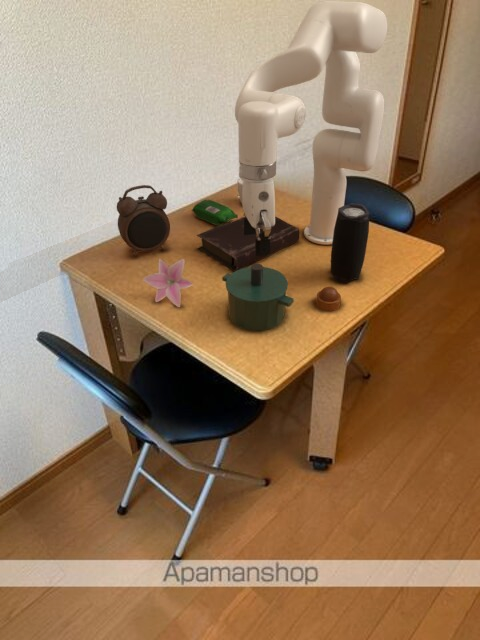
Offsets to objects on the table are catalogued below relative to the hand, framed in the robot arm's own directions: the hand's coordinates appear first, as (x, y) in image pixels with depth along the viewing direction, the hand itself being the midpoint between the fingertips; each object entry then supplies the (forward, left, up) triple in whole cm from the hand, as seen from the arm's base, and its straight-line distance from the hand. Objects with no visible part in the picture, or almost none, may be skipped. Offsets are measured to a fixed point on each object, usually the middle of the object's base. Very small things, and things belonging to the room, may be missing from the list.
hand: (256, 244), depth 110 cm
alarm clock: (+16, -41, -20) cm, 48 cm away
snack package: (-9, -51, -20) cm, 55 cm away
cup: (-24, -57, -20) cm, 65 cm away
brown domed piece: (-18, +4, -20) cm, 27 cm away
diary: (-12, -31, -20) cm, 39 cm away
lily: (+17, -16, -20) cm, 30 cm away
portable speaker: (-29, -5, -20) cm, 36 cm away
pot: (0, 0, -20) cm, 20 cm away
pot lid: (0, 0, -11) cm, 11 cm away
